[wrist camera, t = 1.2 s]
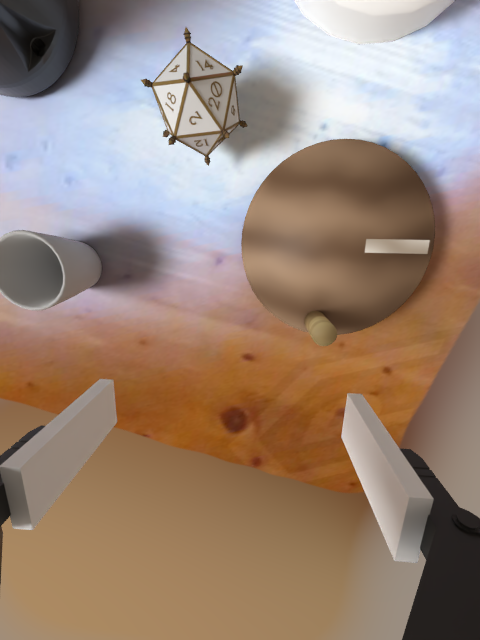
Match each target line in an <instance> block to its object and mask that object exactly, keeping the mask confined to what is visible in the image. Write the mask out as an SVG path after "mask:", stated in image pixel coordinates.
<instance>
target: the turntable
mask: <svg viewBox="0 0 480 640" xmlns="http://www.w3.org/2000/svg"><path fill="white" fill-rule="evenodd" d="M434 236H435V220H434V214H433V207H432V204H431V201H430V197H429V194H428V192H427V190H426V188H425V186H424V184H423V182H422V181H421V179H420V178H419V176H418V174H417V173H416V172H415V171H414V170H413V168H412V167H411V166H410V165H409V164H408V163H407V162H406V161H405V160H403V159H402V158H401V157H400V156H398V155H397V154H396V153H394V152H392V151H390V150H389V149H387V148H385V147H383V146H380V145H377V144H375V143H372V142H367V141H363V140H355V139H337V140H330V141H325V142H320V143H317V144H314V145H312V146H309V147H306V148H304V149H302V150H300V151H298V152H297V153H295V154H293V155H292V156H290V157H289V158H287V159H286V160H284V161H283V162H282V163H281V164H280V165H278V166H277V167H276V168H275V169H274V170H273V171H272V172H271V173H270V174H269V175H268V177H267V178H266V179H265V180H264V181H263V183H262V184H261V186H260V187H259V189H258V190H257V192H256V193H255V195H254V197H253V199H252V201H251V204H250V206H249V208H248V211H247V214H246V217H245V221H244V226H243V231H242V243H241V244H242V259H243V264H244V269H245V272H246V276H247V279H248V281H249V283H250V285H251V288H252V290H253V291H254V293H255V295H256V296H257V298H258V299H259V301H260V302H261V303H262V304H263V305H264V307H265V308H266V309H267V310H268V311H269V312H271V313H272V314H273V315H274V316H275V317H277V318H278V319H279V320H281V321H282V322H284V323H286V324H288V325H289V326H291V327H293V328H296V329H299V330H301V331H304V332H309V333H310V335H311V337H312V339H313V340H314V342H315V343H316V344H318V345H320V346H327V345H330V344H332V343H333V342H334V341H335V339H336V337H337V335H340V334H347V333H352V332H356V331H359V330H363V329H365V328H367V327H370V326H372V325H374V324H376V323H378V322H380V321H382V320H384V319H385V318H386V317H388V316H389V315H391V314H392V313H393V312H395V311H396V310H397V309H398V308H399V307H400V306H401V305H402V304H403V303H404V302H405V301H406V300H407V299H408V298H409V297H410V296H411V294H412V293H413V292H414V290H415V289H416V287H417V286H418V284H419V283H420V281H421V279H422V277H423V275H424V273H425V271H426V269H427V266H428V264H429V261H430V258H431V254H432V250H433V244H434Z"/></svg>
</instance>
